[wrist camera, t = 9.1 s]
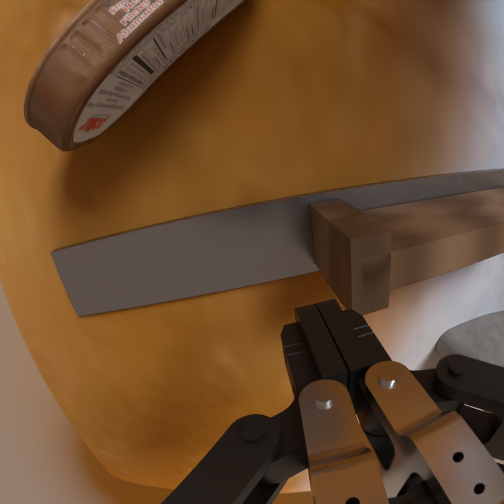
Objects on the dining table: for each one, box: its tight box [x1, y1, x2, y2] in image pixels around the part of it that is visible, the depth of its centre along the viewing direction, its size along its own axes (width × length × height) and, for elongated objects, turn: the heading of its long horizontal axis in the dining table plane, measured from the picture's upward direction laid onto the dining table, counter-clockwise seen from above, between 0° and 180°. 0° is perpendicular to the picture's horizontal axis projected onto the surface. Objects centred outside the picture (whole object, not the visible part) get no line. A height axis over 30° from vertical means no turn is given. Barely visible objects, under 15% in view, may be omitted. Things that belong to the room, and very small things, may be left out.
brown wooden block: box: [310, 187, 504, 315], centre depth 16 cm, size 18×4×6 cm, turn 100°
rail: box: [51, 168, 504, 316], centre depth 19 cm, size 36×5×1 cm, turn 100°
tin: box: [24, 0, 247, 151], centre depth 10 cm, size 15×3×8 cm, turn 135°
